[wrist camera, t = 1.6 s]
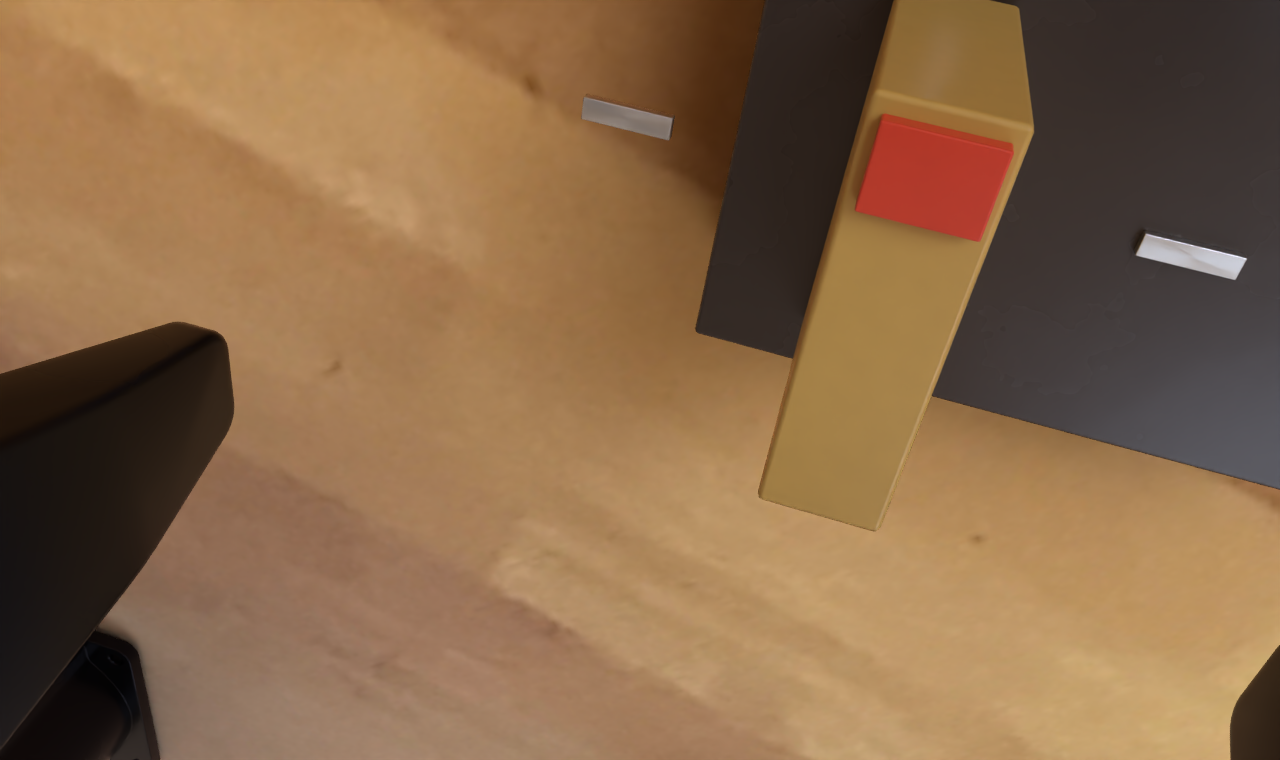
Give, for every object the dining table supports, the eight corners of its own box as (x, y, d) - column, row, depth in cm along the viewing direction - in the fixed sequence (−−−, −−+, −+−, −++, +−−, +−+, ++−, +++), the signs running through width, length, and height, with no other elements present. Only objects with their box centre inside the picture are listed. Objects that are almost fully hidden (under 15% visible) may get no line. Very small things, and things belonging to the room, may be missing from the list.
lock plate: (1284, 464, 20) (1329, 583, 17) (601, 283, 21) (551, 366, 19) (1960, -546, 11) (2249, -608, 9) (746, -716, 13) (690, -809, 10)
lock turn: (899, 350, 17) (876, 547, 13) (801, 324, 17) (752, 512, 13) (1020, 5, 14) (1037, 136, 10) (899, -22, 14) (871, 96, 10)
